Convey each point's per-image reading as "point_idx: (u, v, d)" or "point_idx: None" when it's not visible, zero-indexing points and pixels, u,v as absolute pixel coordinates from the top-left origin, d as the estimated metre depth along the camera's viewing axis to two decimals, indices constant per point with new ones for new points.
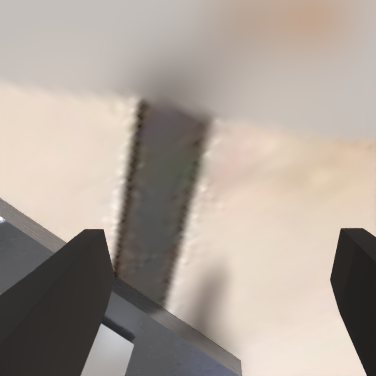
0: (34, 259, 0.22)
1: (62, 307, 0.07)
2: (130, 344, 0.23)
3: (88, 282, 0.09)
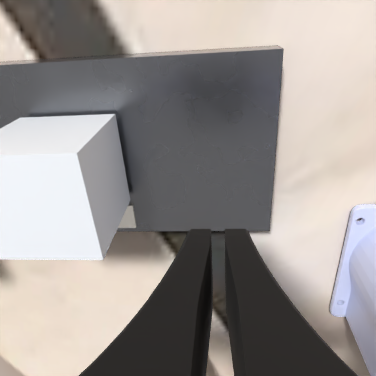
0: None
1: (202, 310, 0.07)
2: (108, 115, 0.16)
3: (208, 283, 0.08)
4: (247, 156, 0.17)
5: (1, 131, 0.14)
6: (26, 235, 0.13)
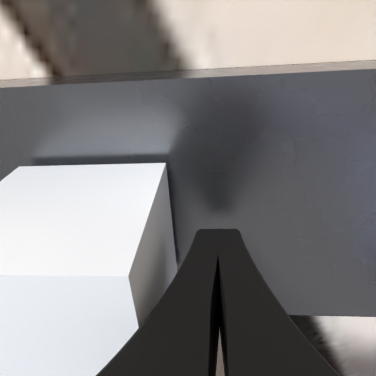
0: None
1: (213, 310, 0.07)
2: (156, 165, 0.10)
3: (218, 284, 0.08)
4: (364, 222, 0.11)
5: None
6: None
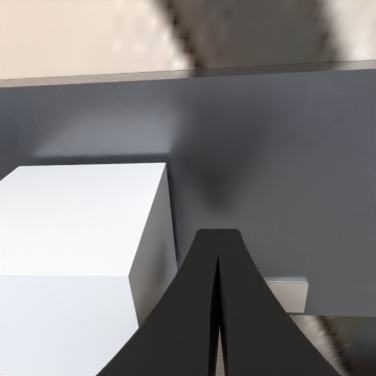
0: (41, 129, 0.10)
1: (213, 310, 0.07)
2: (156, 165, 0.10)
3: (218, 284, 0.08)
4: None
5: None
6: None
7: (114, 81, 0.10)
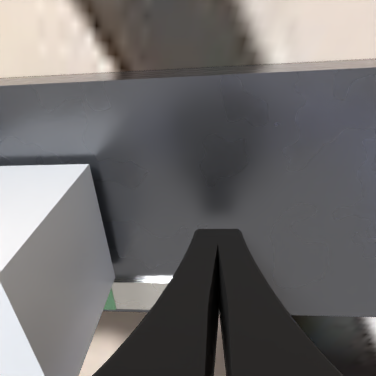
0: None
1: (211, 310, 0.07)
2: (79, 166, 0.10)
3: (216, 284, 0.08)
4: None
5: None
6: None
7: (33, 83, 0.10)
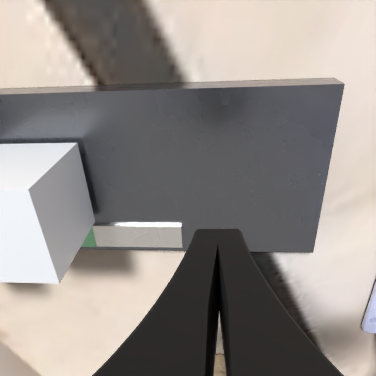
0: (1, 121, 0.17)
1: (211, 310, 0.07)
2: (71, 143, 0.17)
3: (216, 284, 0.08)
4: (298, 182, 0.17)
5: None
6: None
7: (43, 92, 0.16)
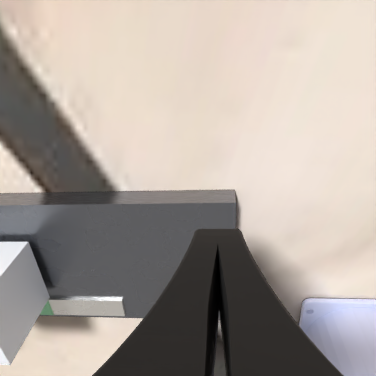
0: None
1: (211, 310, 0.07)
2: (22, 243, 0.20)
3: (216, 284, 0.08)
4: None
5: None
6: None
7: None
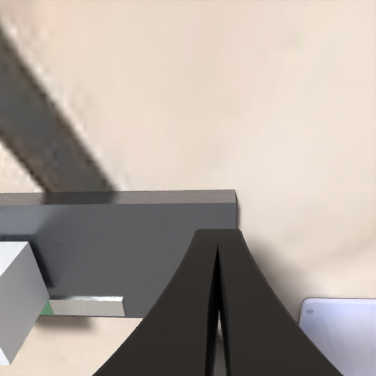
0: None
1: (211, 310, 0.07)
2: (22, 243, 0.20)
3: (216, 284, 0.08)
4: None
5: None
6: None
7: None
